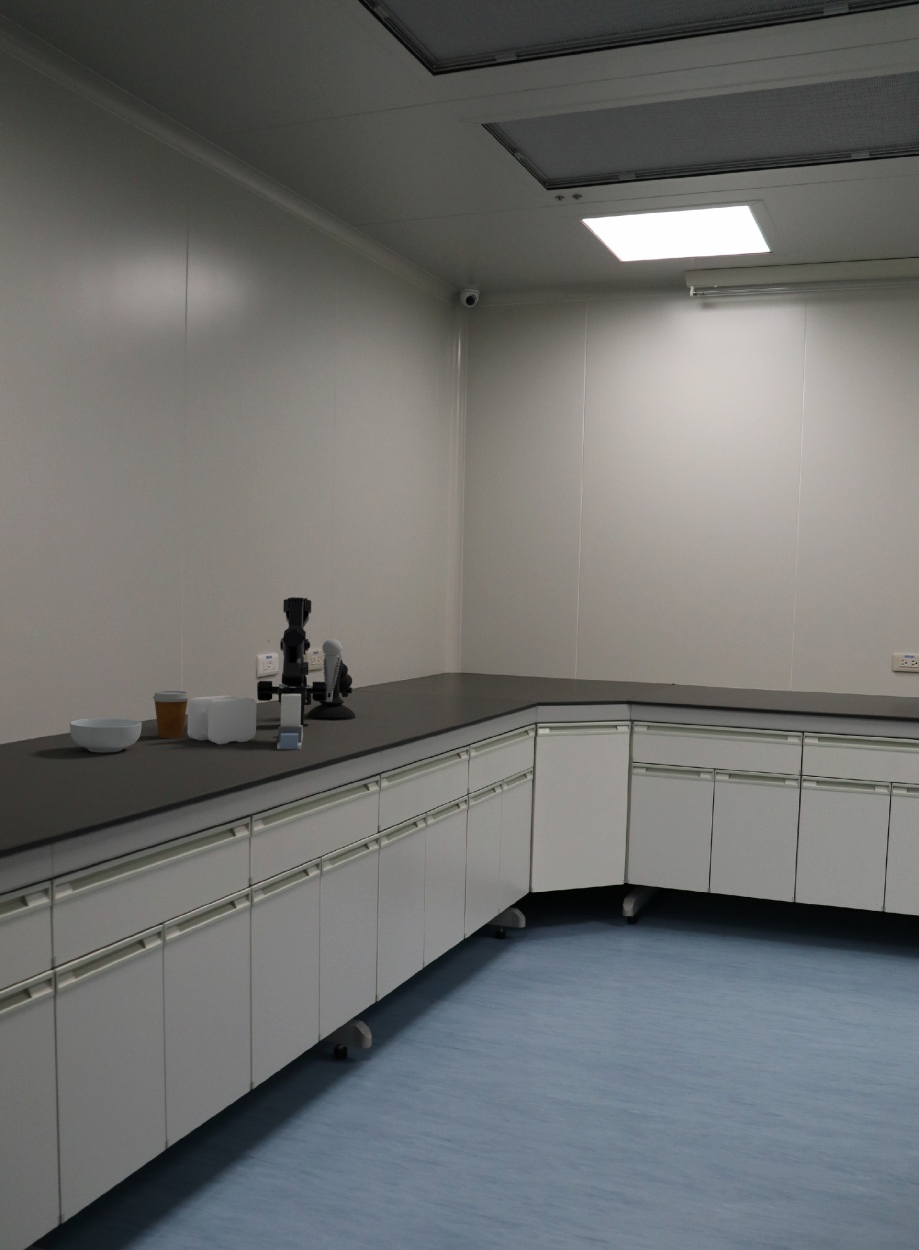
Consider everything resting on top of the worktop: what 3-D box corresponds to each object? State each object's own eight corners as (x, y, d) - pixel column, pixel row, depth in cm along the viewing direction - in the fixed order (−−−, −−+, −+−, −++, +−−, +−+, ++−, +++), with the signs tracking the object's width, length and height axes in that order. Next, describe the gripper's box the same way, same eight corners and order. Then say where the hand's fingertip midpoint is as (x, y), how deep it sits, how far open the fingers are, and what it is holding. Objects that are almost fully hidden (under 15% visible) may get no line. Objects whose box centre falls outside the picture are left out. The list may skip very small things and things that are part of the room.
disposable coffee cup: (167, 740, 277) (167, 695, 276) (145, 736, 283) (145, 692, 282) (196, 736, 284) (196, 692, 284) (173, 733, 290) (174, 689, 290)
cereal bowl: (106, 758, 248) (107, 728, 247) (54, 751, 255) (54, 722, 254) (155, 748, 263) (156, 720, 263) (105, 743, 270) (105, 715, 270)
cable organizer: (208, 746, 270) (209, 701, 269) (185, 741, 277) (186, 697, 276) (256, 740, 280) (257, 697, 280) (233, 736, 288) (234, 694, 287)
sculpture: (300, 719, 327) (302, 639, 326) (323, 710, 350) (324, 635, 349) (347, 721, 324) (349, 641, 323) (367, 712, 348) (369, 637, 347)
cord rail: (281, 735, 291) (281, 717, 291) (302, 735, 292) (303, 717, 292) (277, 749, 267) (277, 729, 267) (300, 749, 268) (301, 729, 268)
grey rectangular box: (281, 737, 279) (282, 693, 278) (300, 737, 279) (301, 693, 279) (280, 740, 274) (281, 695, 273) (299, 740, 274) (300, 695, 274)
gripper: (258, 651, 283) (254, 696, 272) (327, 652, 285) (326, 696, 275) (259, 677, 291) (256, 722, 280) (327, 678, 293) (326, 722, 283)
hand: (291, 715), depth 279 cm, fingers closed
